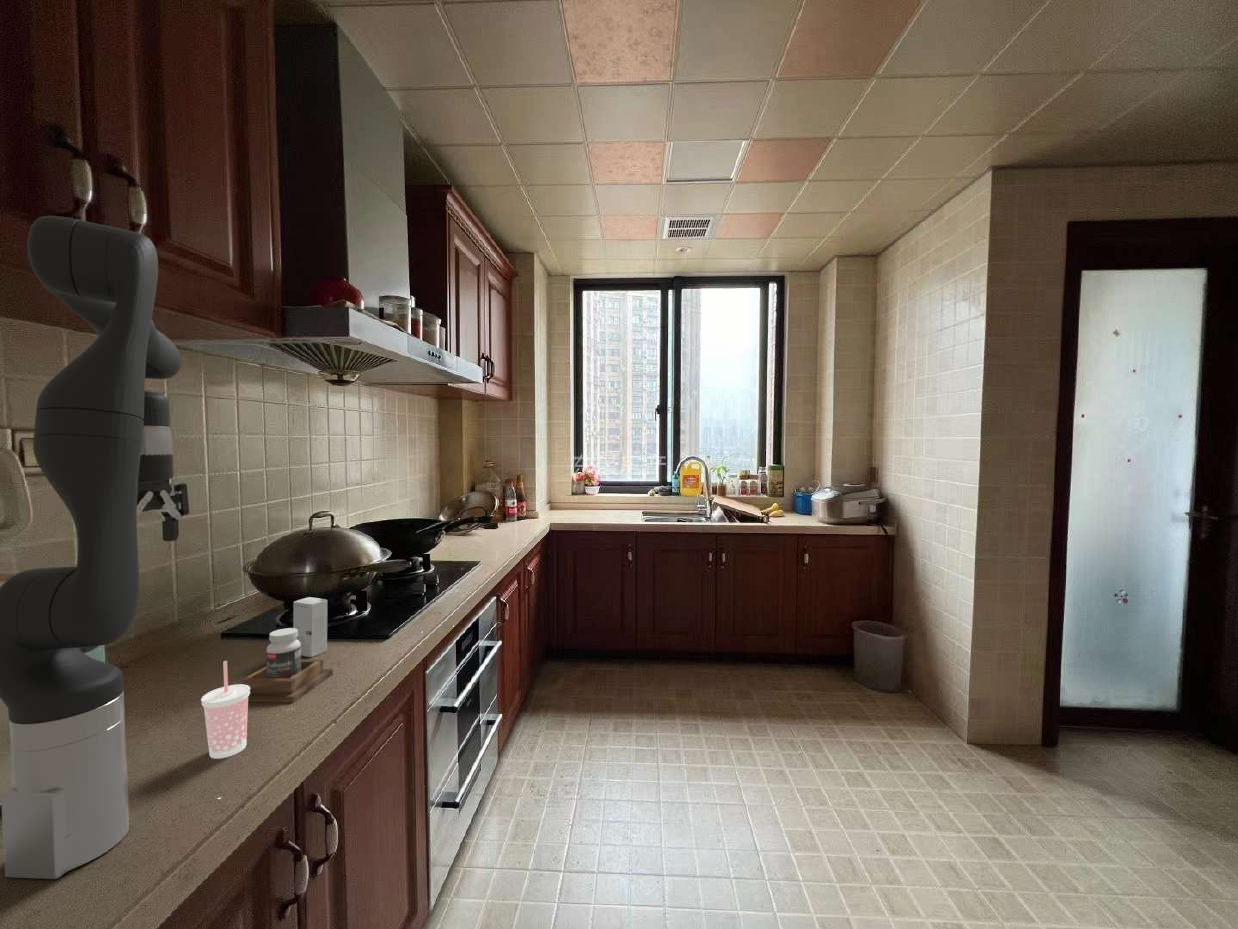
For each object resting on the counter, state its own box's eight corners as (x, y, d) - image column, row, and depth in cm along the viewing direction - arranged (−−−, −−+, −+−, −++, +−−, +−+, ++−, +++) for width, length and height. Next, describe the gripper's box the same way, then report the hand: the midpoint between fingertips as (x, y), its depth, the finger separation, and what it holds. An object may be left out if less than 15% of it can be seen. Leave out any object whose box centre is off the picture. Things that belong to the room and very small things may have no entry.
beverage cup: (214, 742, 84) (211, 656, 83) (258, 736, 85) (255, 651, 85) (195, 764, 78) (191, 672, 77) (242, 757, 80) (239, 666, 79)
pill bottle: (261, 690, 99) (260, 638, 99) (273, 677, 105) (272, 628, 105) (295, 686, 101) (294, 635, 101) (305, 674, 106) (304, 625, 106)
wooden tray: (293, 702, 97) (292, 683, 96) (231, 701, 97) (230, 682, 97) (332, 674, 109) (332, 657, 108) (277, 673, 109) (276, 656, 109)
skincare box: (292, 654, 119) (290, 601, 119) (310, 647, 123) (308, 596, 123) (311, 658, 117) (310, 604, 117) (329, 650, 121) (327, 598, 121)
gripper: (123, 453, 84) (128, 553, 84) (199, 452, 98) (203, 538, 99) (79, 453, 84) (84, 553, 85) (162, 452, 99) (165, 538, 99)
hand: (148, 545), depth 92 cm, fingers open, 8 cm apart
